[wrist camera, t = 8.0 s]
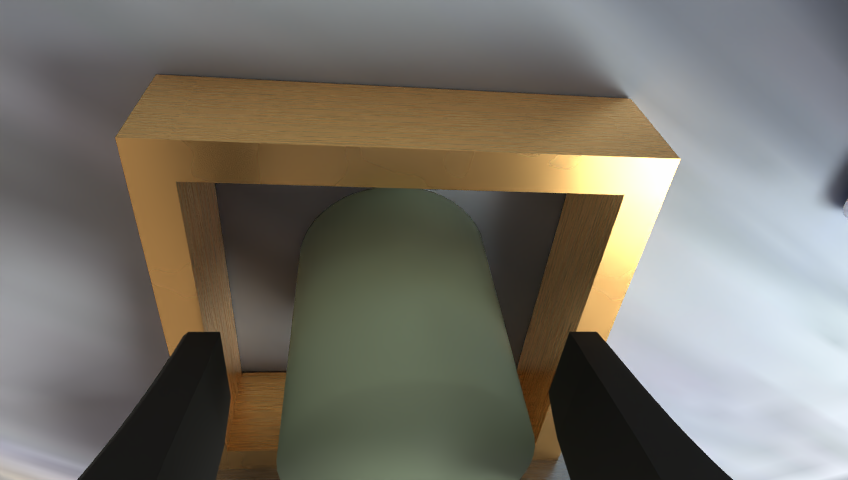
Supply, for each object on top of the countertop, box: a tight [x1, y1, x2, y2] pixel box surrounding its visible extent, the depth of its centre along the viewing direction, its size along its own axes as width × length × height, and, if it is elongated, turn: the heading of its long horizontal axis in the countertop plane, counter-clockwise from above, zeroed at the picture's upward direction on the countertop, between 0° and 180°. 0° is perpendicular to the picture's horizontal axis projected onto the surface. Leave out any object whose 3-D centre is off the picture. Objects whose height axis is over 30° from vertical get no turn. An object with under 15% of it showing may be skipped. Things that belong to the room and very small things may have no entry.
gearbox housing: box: [115, 75, 680, 480], centre depth 14 cm, size 10×15×7 cm
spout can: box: [276, 188, 535, 480], centre depth 13 cm, size 5×7×6 cm
